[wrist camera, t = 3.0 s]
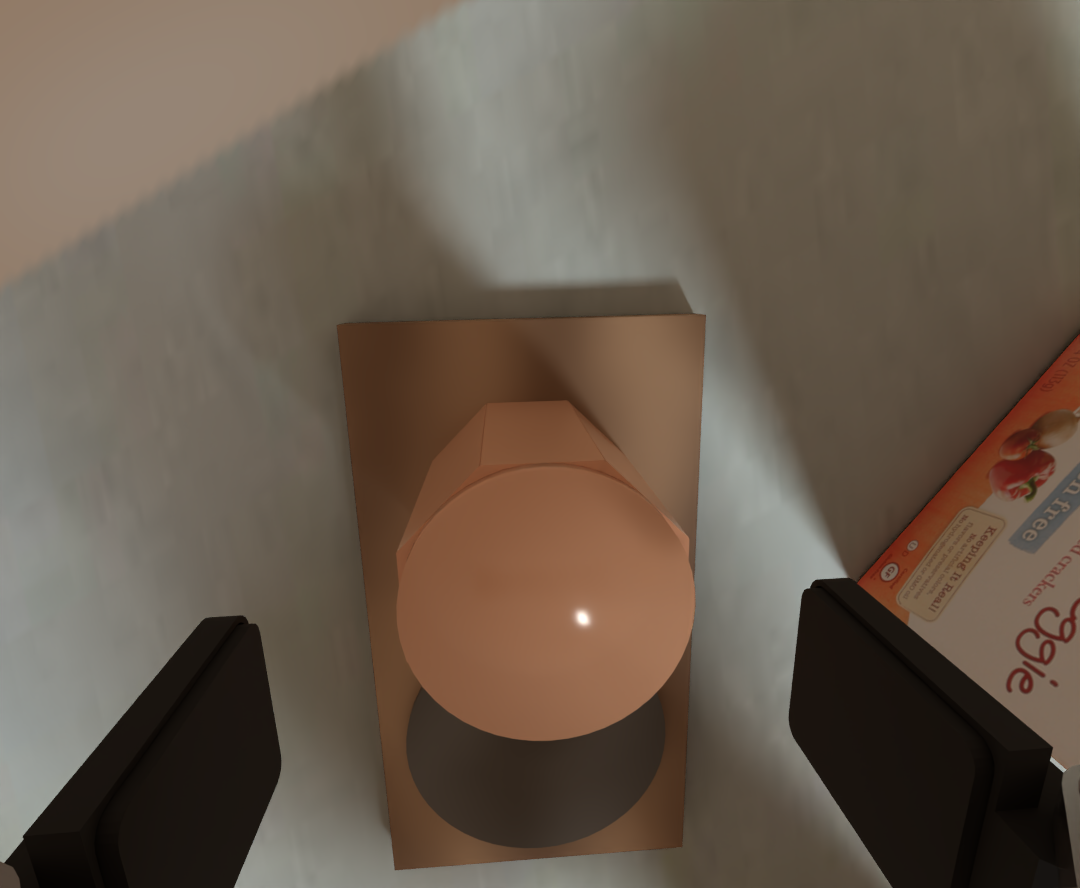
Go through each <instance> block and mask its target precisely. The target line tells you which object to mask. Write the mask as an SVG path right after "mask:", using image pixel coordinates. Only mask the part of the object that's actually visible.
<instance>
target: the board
mask: <svg viewBox="0 0 1080 888" xmlns="http://www.w3.org/2000/svg"><path fill="white" fill-rule="evenodd" d="M705 324H706V315H703V314H660V315H623V316H586V317H549V318H513V319H476V320H439V321H402V322H365V323H344V324H339V325H337V331H338V341H339V350H340V359H341V369H342V378H343V387H344V397H345V406H346V416H347V425H348V434H349V444H350V453H351V463H352V472H353V481H354V491H355V500H356V510H357V519H358V528H359V538H360V547H361V557H362V566H363V575H364V585H365V594H366V603H367V613H368V622H369V632H370V641H371V650H372V660H373V669H374V679H375V688H376V697H377V707H378V716H379V726H380V735H381V744H382V754H383V763H384V773H385V782H386V791H387V801H388V810H389V819H390V829H391V838H392V848H393V857H394V866H395V870H403V869H416V868H428V867H440V866H453V865H465V864H478V863H490V862H502V861H515V860H527V859H539V858H552V857H564V856H577V855H589V854H601V853H614V852H626V851H638V850H651V849H663V848H676V847H682V841H683V818H684V796H685V773H686V751H687V728H688V706H689V683H690V661H691V638H692V630H691V634H690V638H689V641H688V644H687V646H686V648H685V651H684V653H683V656H682V658H681V659H680V661H679V663H678V665H677V666H676V668H675V670H674V672H673V673H672V674H671V676H670V677H669V678H668V680H667V681H666V682H665V683H664V685H663V686H662V687H661V688H660V689H659V690H658V691H657V692H656V693H655V694H654V695H653V696H652V697H651V698H650V699H649V700H648V701H647V702H646V703H644V704H643V705H642V706H641V707H639V708H638V709H637V710H636V711H634V712H632V713H631V714H629V715H628V716H626V717H625V718H623V719H622V720H620V721H618V722H616V723H614V724H611V725H609V726H607V727H605V728H603V729H600V730H597V731H594V732H592V733H589V734H585V735H581V736H577V737H573V738H568V739H560V740H552V741H529V740H519V739H512V738H507V737H503V736H498V735H495V734H492V733H489V732H486V731H483V730H480V729H478V728H476V727H474V726H471V725H469V724H467V723H465V722H463V721H462V720H460V719H459V718H457V717H455V716H454V715H452V714H451V713H449V712H448V711H447V710H445V709H444V708H443V707H442V706H441V705H440V704H438V703H437V702H436V701H435V700H434V699H433V698H432V697H431V696H430V695H429V694H428V692H427V691H426V690H425V689H424V688H423V687H422V685H421V684H420V682H419V681H418V679H417V678H416V677H415V675H414V674H413V672H412V670H411V668H410V666H409V664H408V663H407V661H406V658H405V655H404V652H403V649H402V646H401V643H400V639H399V633H398V627H397V609H396V604H397V596H398V589H399V580H398V569H397V558H396V553H397V550H398V548H399V545H400V542H401V540H402V537H403V535H404V532H405V530H406V527H407V525H408V522H409V519H410V517H411V514H412V512H413V509H414V507H415V504H416V502H417V499H418V496H419V494H420V491H421V489H422V486H423V484H424V481H425V479H426V476H427V473H428V471H429V468H430V466H431V463H432V461H433V460H434V459H435V457H436V456H437V455H438V454H439V453H440V452H441V451H442V450H443V449H444V448H445V447H446V446H447V445H448V444H449V443H450V441H451V440H452V439H453V438H454V437H455V436H456V435H457V434H458V433H459V432H460V431H461V430H462V429H463V428H464V427H465V425H466V424H467V423H468V422H469V421H470V420H471V419H472V418H473V417H474V416H475V415H476V414H477V413H478V412H479V411H480V409H481V408H482V407H483V406H484V405H485V404H487V403H505V402H533V401H562V400H567V401H569V402H570V403H571V404H572V405H573V406H574V407H575V408H576V409H577V410H578V411H579V412H581V413H582V414H583V415H584V416H585V417H586V418H587V419H588V420H589V421H590V422H591V423H592V424H593V425H594V426H595V427H596V428H597V429H599V430H600V431H601V432H602V433H603V434H604V435H605V436H606V437H607V438H608V439H609V440H610V441H611V442H612V443H613V444H614V445H615V446H616V447H618V448H619V449H620V450H621V451H622V452H623V453H624V454H625V456H626V457H627V458H628V460H629V461H630V462H631V464H632V465H633V466H634V467H635V469H636V470H637V471H638V473H639V474H640V475H641V476H642V478H643V479H644V480H645V482H646V483H647V484H648V486H649V487H650V488H651V489H652V491H653V492H654V493H655V495H656V496H657V497H658V498H659V500H660V501H661V502H662V504H663V505H664V506H665V508H666V509H667V510H668V511H669V513H670V514H671V515H672V517H673V518H674V519H675V520H676V522H677V523H678V524H679V526H680V527H681V528H682V530H683V531H684V532H685V533H686V535H687V536H688V537H689V564H690V567H691V570H692V574H693V580H694V571H695V549H696V526H697V504H698V481H699V459H700V436H701V414H702V391H703V369H704V346H705Z"/></svg>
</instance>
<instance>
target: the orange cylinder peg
mask: <svg viewBox="0 0 1080 888" xmlns="http://www.w3.org/2000/svg"><path fill="white" fill-rule="evenodd" d="M396 558H397V569H398V580H399V589H398V596H397V604H396V609H397V627H398V633H399V639H400V643H401V646H402V649H403V652H404V655H405V658H406V661H407V663H408V664H409V666H410V668H411V670H412V672H413V674H414V675H415V677H416V678H417V679H418V681H419V682H420V684H421V685H422V687H423V688H424V689H425V690H426V691H427V692H428V694H429V695H430V696H431V697H432V698H433V699H434V700H435V701H436V702H437V703H438V704H440V705H441V706H442V707H443V708H444V709H445V710H447V711H448V712H449V713H451V714H452V715H454V716H455V717H457V718H459V719H460V720H462V721H463V722H465V723H467V724H469V725H471V726H474V727H476V728H478V729H480V730H483V731H486V732H489V733H492V734H495V735H498V736H503V737H507V738H512V739H519V740H529V741H552V740H560V739H568V738H573V737H577V736H581V735H585V734H589V733H592V732H594V731H597V730H600V729H603V728H605V727H607V726H609V725H611V724H614V723H616V722H618V721H620V720H622V719H623V718H625V717H626V716H628V715H629V714H631V713H632V712H634V711H636V710H637V709H638V708H639V707H641V706H642V705H643V704H644V703H646V702H647V701H648V700H649V699H650V698H651V697H652V696H653V695H654V694H655V693H656V692H657V691H658V690H659V689H660V688H661V687H662V686H663V685H664V683H665V682H666V681H667V680H668V678H669V677H670V676H671V674H672V673H673V672H674V670H675V668H676V666H677V665H678V663H679V661H680V659H681V658H682V656H683V653H684V651H685V648H686V646H687V644H688V641H689V638H690V634H691V630H692V626H693V622H694V613H695V586H694V580H693V574H692V570H691V567H690V564H689V537H688V536H687V535H686V533H685V532H684V531H683V530H682V528H681V527H680V526H679V524H678V523H677V522H676V520H675V519H674V518H673V517H672V515H671V514H670V513H669V511H668V510H667V509H666V508H665V506H664V505H663V504H662V502H661V501H660V500H659V498H658V497H657V496H656V495H655V493H654V492H653V491H652V489H651V488H650V487H649V486H648V484H647V483H646V482H645V480H644V479H643V478H642V476H641V475H640V474H639V473H638V471H637V470H636V469H635V467H634V466H633V465H632V464H631V462H630V461H629V460H628V458H627V457H626V456H625V454H624V453H623V452H622V451H621V450H620V449H619V448H618V447H616V446H615V445H614V444H613V443H612V442H611V441H610V440H609V439H608V438H607V437H606V436H605V435H604V434H603V433H602V432H601V431H600V430H599V429H597V428H596V427H595V426H594V425H593V424H592V423H591V422H590V421H589V420H588V419H587V418H586V417H585V416H584V415H583V414H582V413H581V412H579V411H578V410H577V409H576V408H575V407H574V406H573V405H572V404H571V403H570V402H569V401H567V400H562V401H533V402H505V403H487V404H485V405H484V406H483V407H482V408H481V409H480V411H479V412H478V413H477V414H476V415H475V416H474V417H473V418H472V419H471V420H470V421H469V422H468V423H467V424H466V425H465V427H464V428H463V429H462V430H461V431H460V432H459V433H458V434H457V435H456V436H455V437H454V438H453V439H452V440H451V441H450V443H449V444H448V445H447V446H446V447H445V448H444V449H443V450H442V451H441V452H440V453H439V454H438V455H437V456H436V457H435V459H434V460H433V461H432V463H431V466H430V468H429V471H428V473H427V476H426V479H425V481H424V484H423V486H422V489H421V491H420V494H419V496H418V499H417V502H416V504H415V507H414V509H413V512H412V514H411V517H410V519H409V522H408V525H407V527H406V530H405V532H404V535H403V537H402V540H401V542H400V545H399V548H398V550H397V553H396Z"/></svg>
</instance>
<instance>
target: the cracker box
mask: <svg viewBox="0 0 1080 888" xmlns="http://www.w3.org/2000/svg"><path fill="white" fill-rule="evenodd" d="M857 584H858V585H860V586H861V587H862V588H863V589H864V590H866V591H867V592H868V593H869V594H870V595H872V596H873V597H874V598H875V599H876V600H877V601H879V602H880V603H881V604H882V605H883V606H885V607H886V608H887V609H888V610H889V611H891V612H892V613H893V614H894V615H895V616H897V617H898V618H899V619H900V620H901V621H903V622H904V623H905V624H906V625H907V626H909V627H910V628H911V629H912V630H913V631H915V632H916V633H917V634H918V635H919V636H921V637H922V638H923V639H924V640H925V641H927V642H928V643H929V644H930V645H931V646H933V647H934V648H935V649H936V650H937V651H939V652H940V653H941V654H942V655H943V656H945V657H946V658H947V659H948V660H949V661H951V662H952V663H953V664H954V665H955V666H957V667H958V668H959V669H960V670H961V671H962V672H964V673H965V674H966V675H967V676H968V677H970V678H971V679H972V680H973V681H974V682H976V683H977V684H978V685H979V686H980V687H982V688H983V689H984V690H985V691H986V692H988V693H989V694H990V695H991V696H992V697H994V698H995V699H996V700H997V701H998V702H1000V703H1001V704H1002V705H1003V706H1004V707H1006V708H1007V709H1008V710H1009V711H1010V712H1012V713H1013V714H1014V715H1015V716H1016V717H1018V718H1019V719H1020V720H1021V721H1022V722H1024V723H1025V724H1026V725H1027V726H1028V727H1030V728H1031V729H1032V730H1033V731H1034V732H1036V733H1037V734H1038V735H1039V736H1040V737H1042V738H1043V739H1044V740H1045V741H1046V742H1047V743H1049V744H1050V745H1051V746H1052V747H1053V751H1052V755H1051V757H1053V758H1054V759H1055V760H1056V761H1057V762H1058V763H1060V764H1061V765H1062V766H1063V767H1064V768H1065V769H1067V770H1068V769H1069V768H1070V767H1072V766H1075V765H1080V334H1079V335H1078V336H1077V337H1076V338H1075V340H1074V341H1073V342H1072V343H1071V344H1070V345H1069V346H1068V347H1067V348H1066V350H1065V351H1064V352H1063V353H1062V354H1061V355H1060V356H1059V357H1058V359H1057V360H1056V361H1055V362H1054V363H1053V364H1052V365H1051V366H1050V368H1049V369H1048V370H1047V371H1046V372H1045V373H1044V374H1043V375H1042V376H1041V378H1040V379H1039V380H1038V381H1037V382H1036V384H1035V385H1034V386H1033V387H1032V388H1031V389H1030V390H1029V391H1028V392H1027V393H1026V395H1025V396H1024V397H1023V398H1022V399H1021V400H1020V401H1019V402H1018V403H1017V404H1016V406H1015V407H1014V408H1013V409H1012V410H1011V411H1010V413H1009V414H1008V415H1007V416H1006V417H1005V418H1004V419H1003V420H1002V421H1001V422H1000V423H999V425H998V426H997V427H996V428H995V429H994V430H993V431H992V432H991V434H990V435H989V436H988V437H987V438H986V440H985V441H984V442H983V443H982V444H981V445H980V446H979V447H978V448H977V449H976V450H975V452H974V453H973V454H972V455H971V456H970V457H969V458H968V460H967V461H966V462H965V463H964V464H963V465H962V466H961V467H960V468H959V469H958V470H957V471H956V473H955V474H954V475H953V476H952V477H951V478H950V480H949V481H948V482H947V483H946V484H945V485H944V487H943V488H942V489H941V490H940V491H939V492H938V493H937V494H936V495H935V496H934V498H933V499H932V500H931V501H930V502H929V503H928V504H927V505H926V506H925V507H924V509H923V510H922V511H921V512H920V513H919V514H918V515H917V517H916V518H915V519H914V520H913V521H912V522H911V523H910V525H909V526H908V527H907V528H906V529H905V530H904V531H903V532H902V533H901V534H900V535H899V537H898V538H897V539H896V540H895V541H894V542H893V543H892V544H891V545H890V546H889V548H888V549H887V550H886V551H885V552H884V553H883V555H882V556H881V557H880V558H879V559H878V560H877V561H876V563H875V564H874V565H873V566H872V567H871V568H870V569H869V570H868V571H867V573H866V574H865V575H864V576H863V577H862V578H861V579H860V580H859V581H858V582H857Z"/></svg>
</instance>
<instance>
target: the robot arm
mask: <svg viewBox="0 0 1080 888" xmlns="http://www.w3.org/2000/svg"><path fill="white" fill-rule="evenodd" d="M789 725H790V729H791V732H792V735H793V737H794V739H795V741H796V742H797V744H798V745H799V747H800V748H801V750H802V751H803V753H804V754H805V756H806V757H807V759H808V760H809V762H810V763H811V765H812V766H813V768H814V769H815V771H816V772H817V774H818V775H819V777H820V778H821V780H822V781H823V783H824V784H825V786H826V787H827V789H828V791H829V792H830V794H831V795H832V797H833V798H834V800H835V801H836V803H837V804H838V806H839V807H840V809H841V810H842V812H843V813H844V815H845V816H846V818H847V819H848V821H849V822H850V824H851V825H852V827H853V828H854V830H855V831H856V833H857V834H858V836H859V838H860V839H861V841H862V842H863V844H864V845H865V847H866V848H867V850H868V851H869V853H870V854H871V856H872V857H873V859H874V860H875V862H876V863H877V865H878V866H879V868H880V869H881V871H882V872H883V874H884V875H885V877H886V878H887V880H888V881H889V883H890V884H891V886H892V888H1080V765H1075V766H1072V767H1070V768H1069V769H1068V770H1066V771H1065V772H1064V773H1063V772H1062V771H1061V770H1060V769H1058V768H1057V767H1056V766H1055V765H1054V764H1053V763H1052V762H1050V758H1051V755H1052V751H1053V747H1052V746H1051V745H1050V744H1049V743H1047V742H1046V741H1045V740H1044V739H1043V738H1042V737H1040V736H1039V735H1038V734H1037V733H1036V732H1034V731H1033V730H1032V729H1031V728H1030V727H1028V726H1027V725H1026V724H1025V723H1024V722H1022V721H1021V720H1020V719H1019V718H1018V717H1016V716H1015V715H1014V714H1013V713H1012V712H1010V711H1009V710H1008V709H1007V708H1006V707H1004V706H1003V705H1002V704H1001V703H1000V702H998V701H997V700H996V699H995V698H994V697H992V696H991V695H990V694H989V693H988V692H986V691H985V690H984V689H983V688H982V687H980V686H979V685H978V684H977V683H976V682H974V681H973V680H972V679H971V678H970V677H968V676H967V675H966V674H965V673H964V672H962V671H961V670H960V669H959V668H958V667H957V666H955V665H954V664H953V663H952V662H951V661H949V660H948V659H947V658H946V657H945V656H943V655H942V654H941V653H940V652H939V651H937V650H936V649H935V648H934V647H933V646H931V645H930V644H929V643H928V642H927V641H925V640H924V639H923V638H922V637H921V636H919V635H918V634H917V633H916V632H915V631H913V630H912V629H911V628H910V627H909V626H907V625H906V624H905V623H904V622H903V621H901V620H900V619H899V618H898V617H897V616H895V615H894V614H893V613H892V612H891V611H889V610H888V609H887V608H886V607H885V606H883V605H882V604H881V603H880V602H879V601H877V600H876V599H875V598H874V597H873V596H872V595H870V594H869V593H868V592H867V591H866V590H864V589H863V588H862V587H861V586H860V585H858V584H857V583H856V582H855V581H853V580H852V579H850V578H836V579H820V580H815V581H814V582H813V583H812V585H811V587H810V588H809V589H805V590H804V592H803V594H802V599H801V608H800V617H799V626H798V635H797V644H796V653H795V662H794V672H793V681H792V690H791V699H790V708H789ZM280 771H281V753H280V747H279V741H278V735H277V729H276V723H275V718H274V712H273V706H272V700H271V694H270V688H269V683H268V677H267V671H266V665H265V659H264V653H263V647H262V642H261V636H260V631H259V628H258V626H257V625H256V624H249V623H248V621H247V619H246V617H244V616H226V617H210V618H205V619H204V620H203V621H201V623H200V624H199V625H198V626H197V627H196V629H195V630H194V631H193V632H192V633H191V635H190V636H189V637H188V638H187V639H186V641H185V642H184V643H183V644H182V645H181V647H180V648H179V649H178V650H177V651H176V653H175V654H174V655H173V656H172V658H171V659H170V660H169V661H168V662H167V664H166V665H165V666H164V667H163V668H162V670H161V671H160V672H159V673H158V674H157V676H156V677H155V678H154V679H153V680H152V682H151V683H150V684H149V685H148V686H147V688H146V689H145V690H144V691H143V692H142V694H141V695H140V696H139V697H138V698H137V700H136V701H135V702H134V703H133V704H132V706H131V707H130V708H129V709H128V710H127V712H126V713H125V714H124V715H123V716H122V718H121V719H120V720H119V721H118V722H117V724H116V725H115V726H114V727H113V728H112V730H111V731H110V732H109V733H108V734H107V736H106V737H105V738H104V739H103V740H102V742H101V743H100V744H99V745H98V746H97V748H96V749H95V750H94V751H93V752H92V754H91V755H90V756H89V757H88V758H87V760H86V761H85V762H84V763H83V765H82V766H81V767H80V768H79V769H78V771H77V772H76V773H75V774H74V775H73V777H72V778H71V779H70V780H69V781H68V783H67V784H66V785H65V786H64V787H63V789H62V790H61V791H60V792H59V793H58V795H57V796H56V797H55V798H54V799H53V801H52V802H51V803H50V804H49V805H48V807H47V808H46V809H45V810H44V811H43V813H42V814H41V815H40V816H39V817H38V819H37V820H36V821H35V822H34V823H33V825H32V826H31V827H30V828H29V829H28V831H27V832H26V833H25V834H24V835H23V838H24V840H23V841H22V842H21V843H20V845H19V846H18V847H17V848H16V849H15V851H14V852H13V853H12V854H11V856H10V857H9V858H8V859H7V860H6V862H5V863H2V862H0V888H234V886H235V883H236V881H237V879H238V876H239V874H240V871H241V869H242V867H243V864H244V862H245V859H246V857H247V855H248V852H249V850H250V847H251V845H252V843H253V840H254V838H255V835H256V833H257V831H258V828H259V826H260V823H261V821H262V819H263V816H264V814H265V812H266V809H267V807H268V804H269V802H270V800H271V797H272V795H273V792H274V790H275V788H276V785H277V783H278V780H279V776H280Z"/></svg>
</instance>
